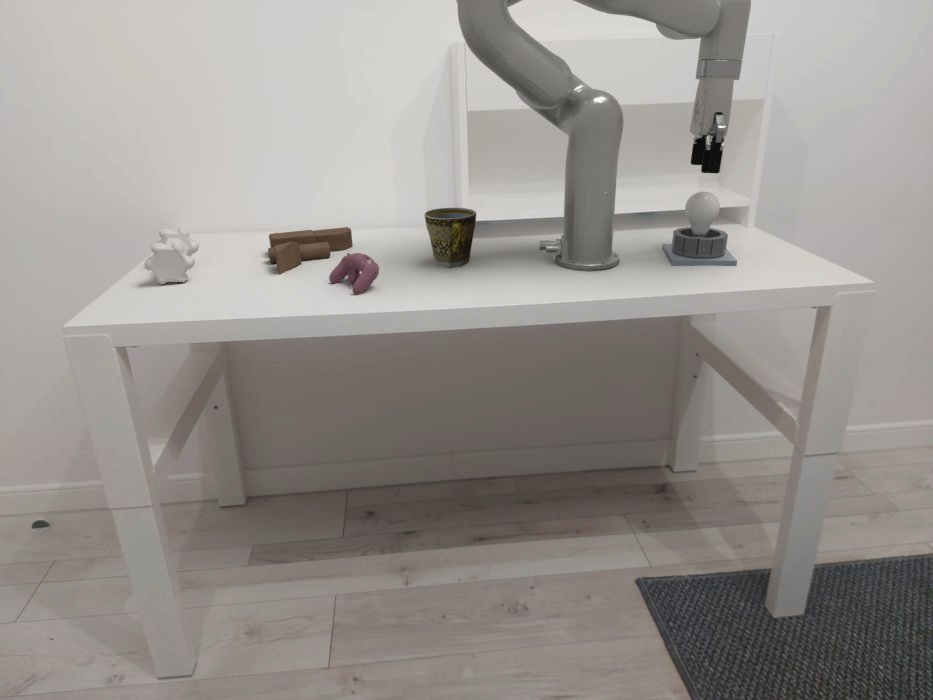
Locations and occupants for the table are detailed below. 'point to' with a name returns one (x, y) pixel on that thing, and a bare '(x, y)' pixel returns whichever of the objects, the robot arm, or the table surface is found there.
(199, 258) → the table surface
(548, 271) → the table surface
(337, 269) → the video game controller
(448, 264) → the ceramic cup
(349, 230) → the wooden block set
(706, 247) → the socket
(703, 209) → the lightbulb
